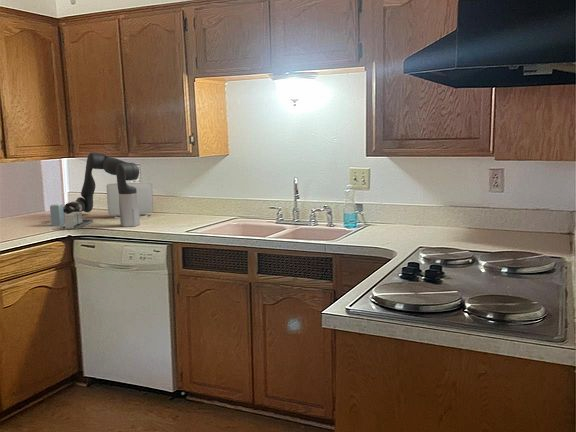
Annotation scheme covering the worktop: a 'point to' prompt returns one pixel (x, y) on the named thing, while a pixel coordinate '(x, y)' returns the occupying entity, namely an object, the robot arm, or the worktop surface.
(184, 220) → the worktop surface
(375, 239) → the worktop surface
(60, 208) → the block
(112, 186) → the network device
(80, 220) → the rail
